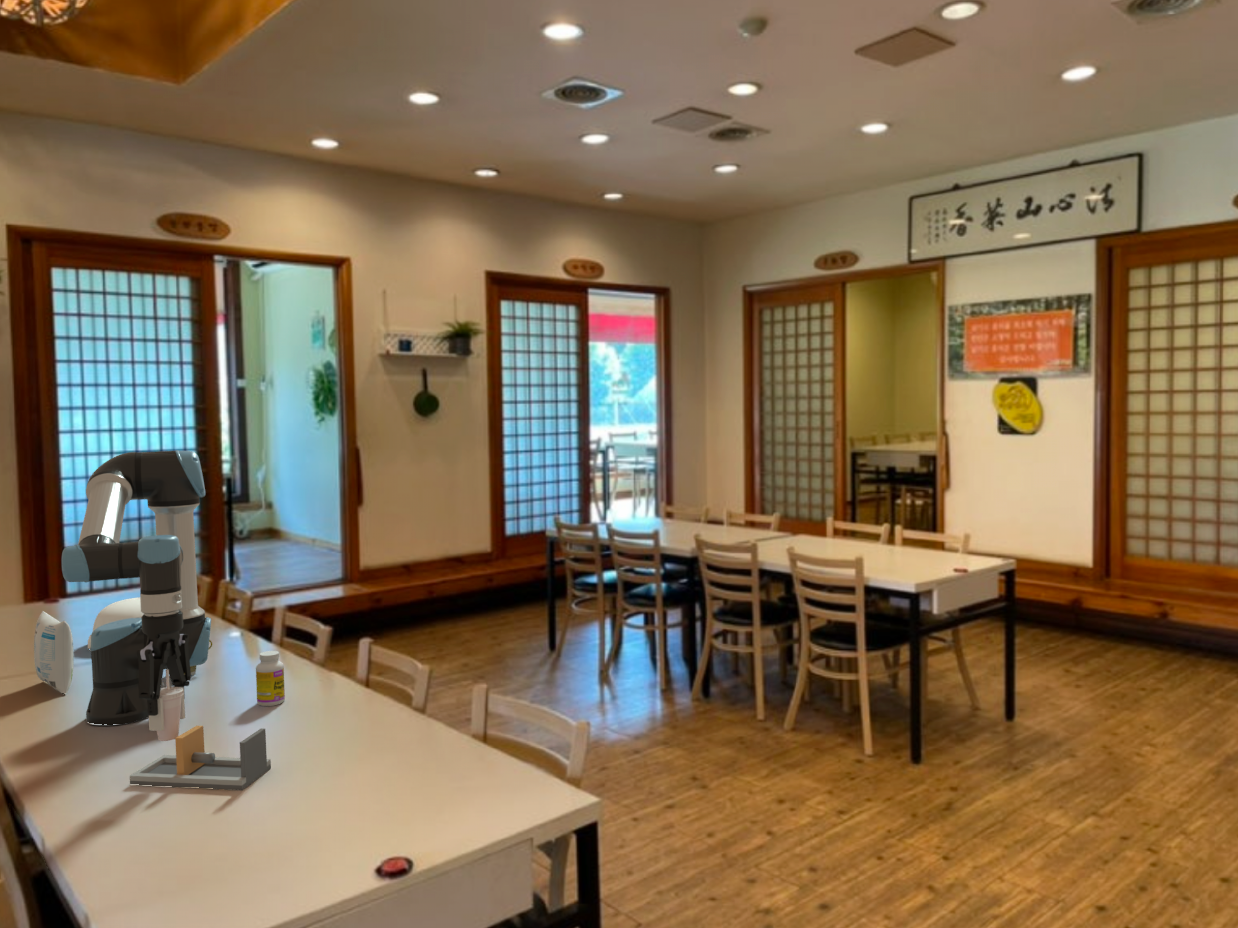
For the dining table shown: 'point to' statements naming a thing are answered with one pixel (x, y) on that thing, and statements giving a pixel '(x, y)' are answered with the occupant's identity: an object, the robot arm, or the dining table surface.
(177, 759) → the pusher
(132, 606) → the dome cover
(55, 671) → the pouch
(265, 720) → the dining table surface
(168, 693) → the smoothie
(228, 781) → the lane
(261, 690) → the supplement bottle
